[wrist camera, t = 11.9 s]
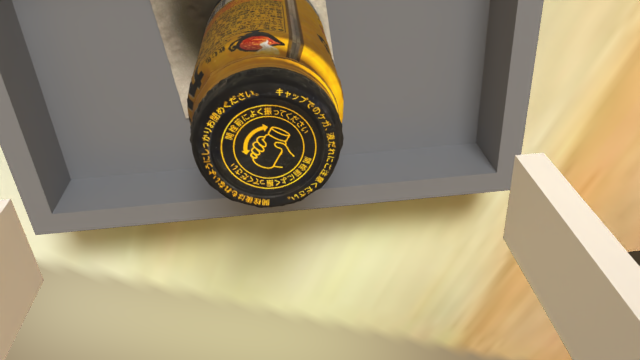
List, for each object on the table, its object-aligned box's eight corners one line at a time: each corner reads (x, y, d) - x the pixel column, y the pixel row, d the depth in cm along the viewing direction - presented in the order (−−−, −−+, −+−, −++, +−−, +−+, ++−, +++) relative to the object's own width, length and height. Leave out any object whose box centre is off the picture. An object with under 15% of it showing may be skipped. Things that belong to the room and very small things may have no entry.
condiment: (338, 90, 31) (375, 214, 21) (186, 117, 31) (149, 253, 21) (318, -50, 28) (351, 19, 17) (145, -19, 28) (76, 68, 17)
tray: (524, -172, 26) (569, -173, 23) (488, 150, 35) (515, 189, 32) (-51, -135, 25) (-107, -129, 21) (60, 189, 34) (35, 234, 30)
